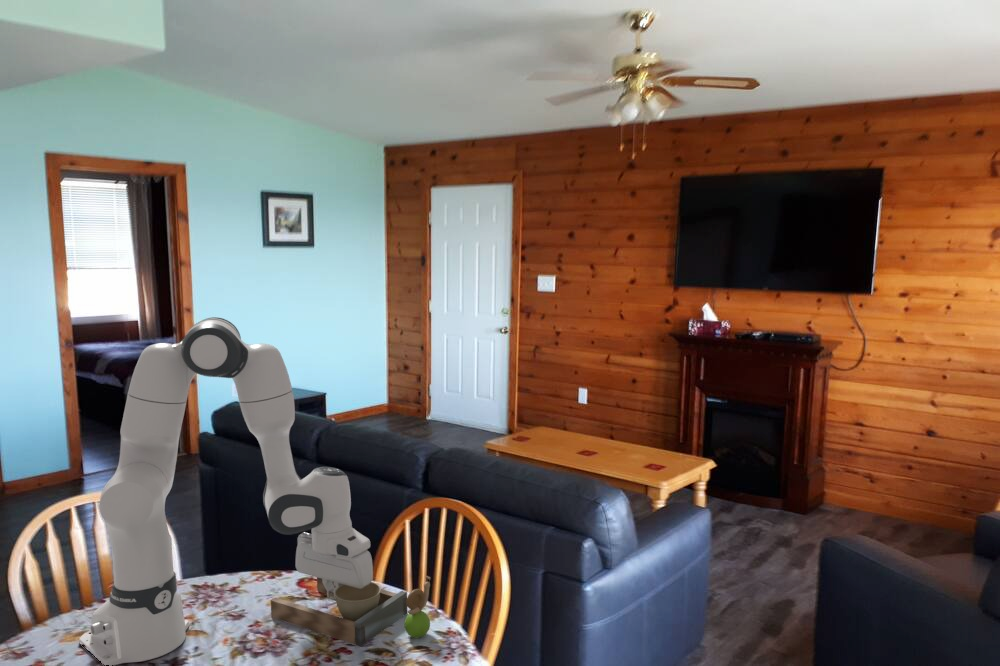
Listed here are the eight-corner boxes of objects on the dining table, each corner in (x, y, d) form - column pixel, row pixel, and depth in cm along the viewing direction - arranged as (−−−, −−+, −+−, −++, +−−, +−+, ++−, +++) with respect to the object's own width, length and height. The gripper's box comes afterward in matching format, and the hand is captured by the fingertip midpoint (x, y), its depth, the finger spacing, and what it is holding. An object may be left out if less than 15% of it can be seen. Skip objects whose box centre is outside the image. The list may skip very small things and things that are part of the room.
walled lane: (271, 617, 159) (270, 595, 159) (321, 588, 173) (321, 569, 172) (360, 646, 146) (360, 623, 146) (407, 613, 160) (406, 592, 160)
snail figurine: (439, 633, 151) (437, 579, 150) (416, 645, 146) (415, 590, 145) (421, 625, 155) (420, 572, 154) (399, 636, 150) (398, 582, 149)
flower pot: (370, 635, 151) (369, 603, 150) (327, 630, 153) (326, 598, 152) (388, 612, 160) (387, 582, 160) (347, 608, 163) (346, 578, 162)
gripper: (287, 535, 161) (290, 593, 163) (357, 551, 151) (359, 613, 153) (307, 526, 167) (309, 582, 168) (376, 541, 157) (378, 601, 158)
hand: (334, 597), depth 160 cm, fingers closed
